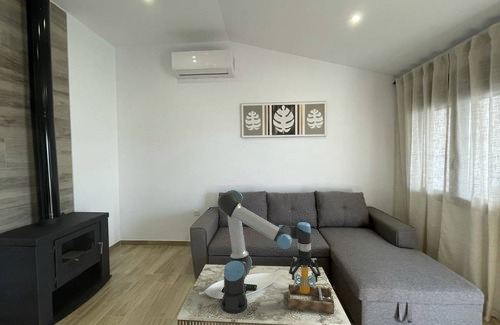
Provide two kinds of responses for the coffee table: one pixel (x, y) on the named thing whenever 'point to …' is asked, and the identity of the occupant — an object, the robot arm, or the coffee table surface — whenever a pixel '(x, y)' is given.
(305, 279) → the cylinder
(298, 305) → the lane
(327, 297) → the pusher
